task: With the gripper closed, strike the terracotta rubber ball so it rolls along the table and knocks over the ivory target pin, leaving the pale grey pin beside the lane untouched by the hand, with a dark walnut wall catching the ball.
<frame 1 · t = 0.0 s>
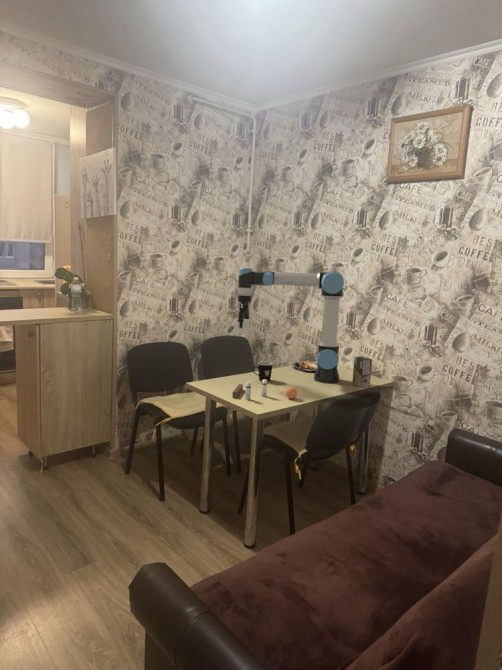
hand: (243, 331, 269), 28 cm above the table, tool pointing down, fingers open, 13 cm apart
coffee mug: (262, 380, 272), on the table
side pin: (247, 399, 234), on the table
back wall: (237, 393, 243), on the table
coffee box: (361, 385, 270), on the table
ball: (291, 392, 238), on the table
target pin: (264, 396, 241), on the table
food plate: (310, 369, 306), on the table
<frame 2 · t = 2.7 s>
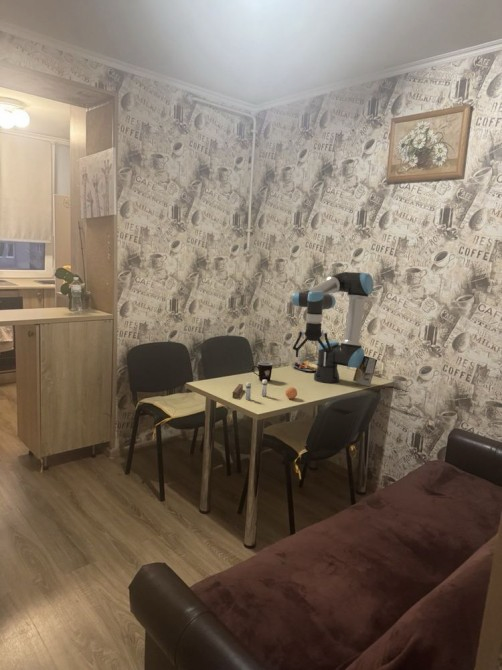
hand: (311, 364, 234), 19 cm above the table, tool pointing down, fingers open, 12 cm apart
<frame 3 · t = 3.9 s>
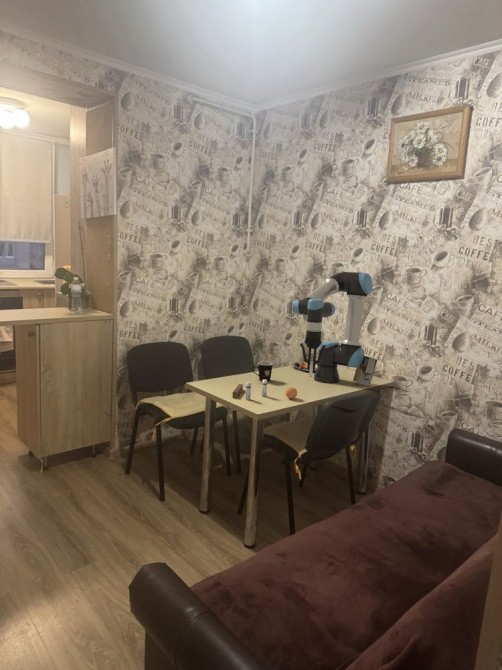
hand: (310, 376, 234), 13 cm above the table, tool pointing down, fingers closed
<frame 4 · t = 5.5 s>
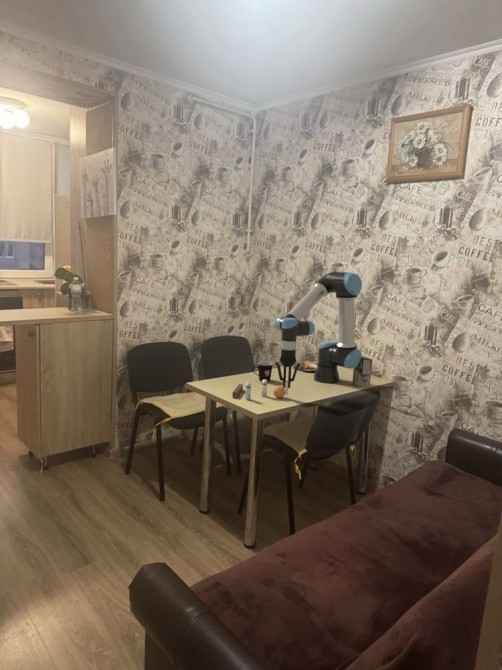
hand: (286, 393, 238), 2 cm above the table, tool pointing down, fingers closed
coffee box: (361, 385, 270), on the table, touching arm
ball: (279, 392, 238), on the table, touching gripper
everything else where it was.
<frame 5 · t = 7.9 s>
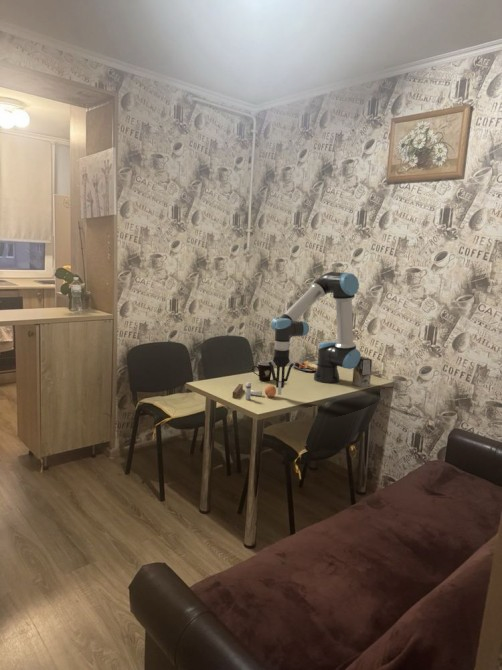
hand: (279, 393, 239), 2 cm above the table, tool pointing down, fingers closed
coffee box: (361, 385, 270), on the table
ball: (270, 391, 239), on the table
target pin: (261, 393, 240), point 1 cm above the table, tilted 90°
everything else where it was.
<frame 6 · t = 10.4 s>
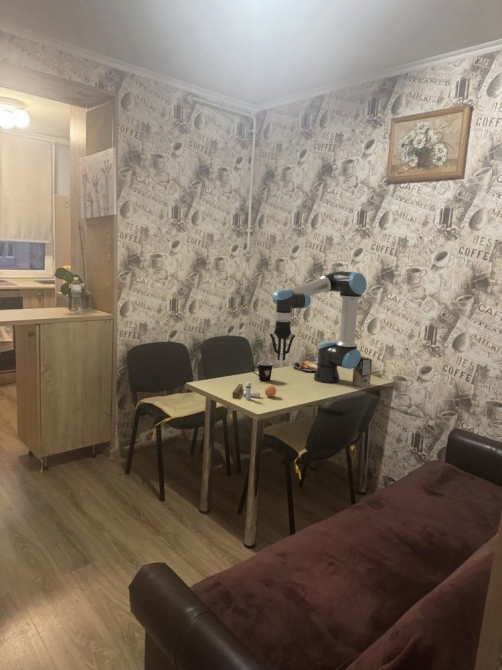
hand: (280, 366, 236), 16 cm above the table, tool pointing down, fingers closed
target pin: (259, 395, 237), point 1 cm above the table, tilted 90°
everything else where it was.
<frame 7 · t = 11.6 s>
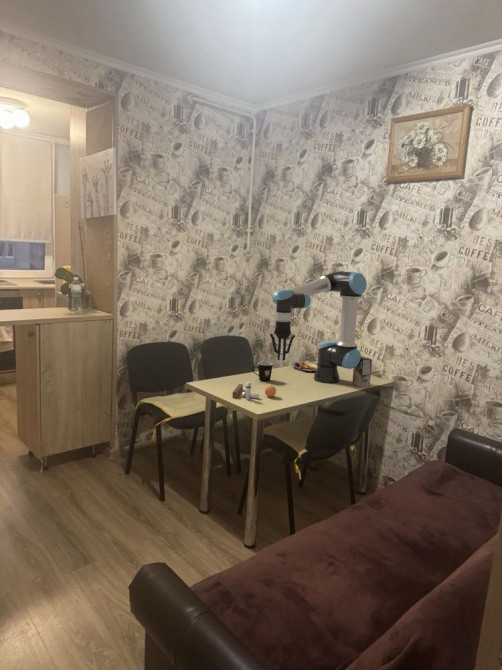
hand: (280, 366, 236), 16 cm above the table, tool pointing down, fingers closed
target pin: (258, 396, 235), point 1 cm above the table, tilted 90°
everything else where it was.
at the end: target pin tilted 90°; target pin never touched the robot; ball moved 10.8 cm from its start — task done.
